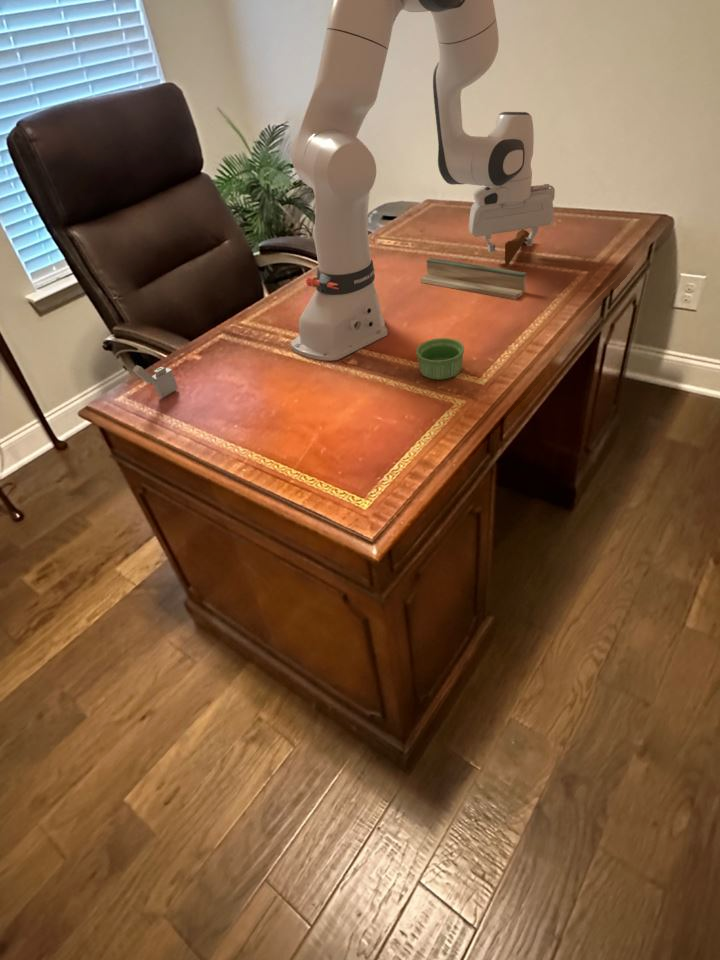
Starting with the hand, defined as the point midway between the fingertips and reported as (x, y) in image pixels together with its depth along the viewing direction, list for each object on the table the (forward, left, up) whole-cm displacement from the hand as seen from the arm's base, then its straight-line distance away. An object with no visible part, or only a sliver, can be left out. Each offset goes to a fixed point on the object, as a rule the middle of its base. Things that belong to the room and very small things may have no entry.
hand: (510, 248), depth 148 cm
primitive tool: (0, 0, -5) cm, 5 cm away
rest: (-16, 0, -3) cm, 16 cm away
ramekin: (-54, -15, -3) cm, 56 cm away
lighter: (-89, +29, -3) cm, 93 cm away
